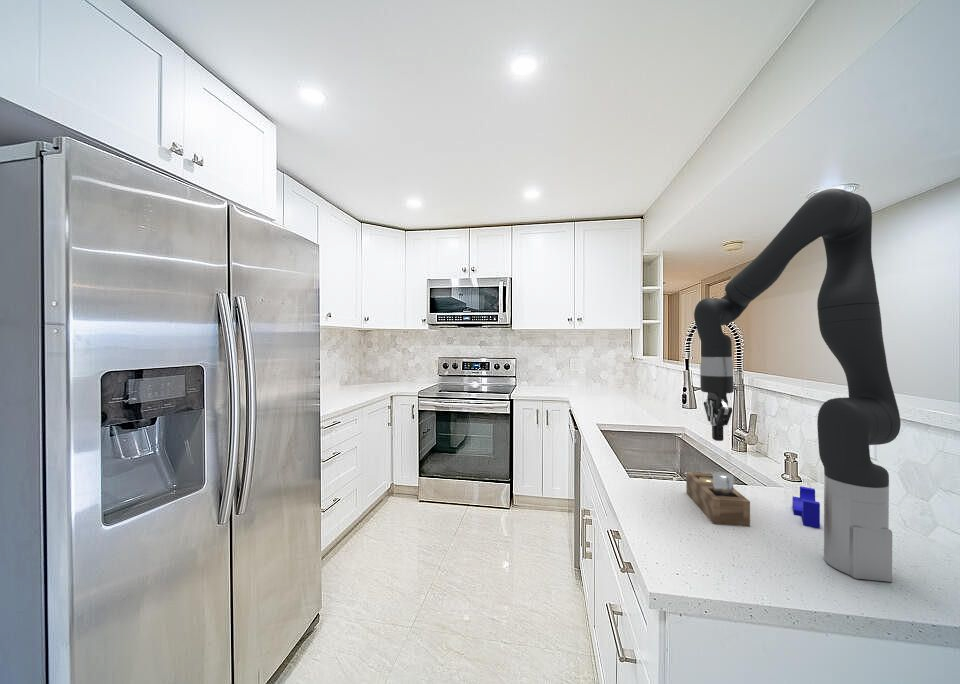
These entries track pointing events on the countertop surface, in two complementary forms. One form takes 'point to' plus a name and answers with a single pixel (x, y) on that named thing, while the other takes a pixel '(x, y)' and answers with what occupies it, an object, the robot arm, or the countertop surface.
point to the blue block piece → (807, 507)
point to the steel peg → (723, 484)
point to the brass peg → (706, 479)
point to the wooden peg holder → (718, 502)
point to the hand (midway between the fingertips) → (717, 440)
